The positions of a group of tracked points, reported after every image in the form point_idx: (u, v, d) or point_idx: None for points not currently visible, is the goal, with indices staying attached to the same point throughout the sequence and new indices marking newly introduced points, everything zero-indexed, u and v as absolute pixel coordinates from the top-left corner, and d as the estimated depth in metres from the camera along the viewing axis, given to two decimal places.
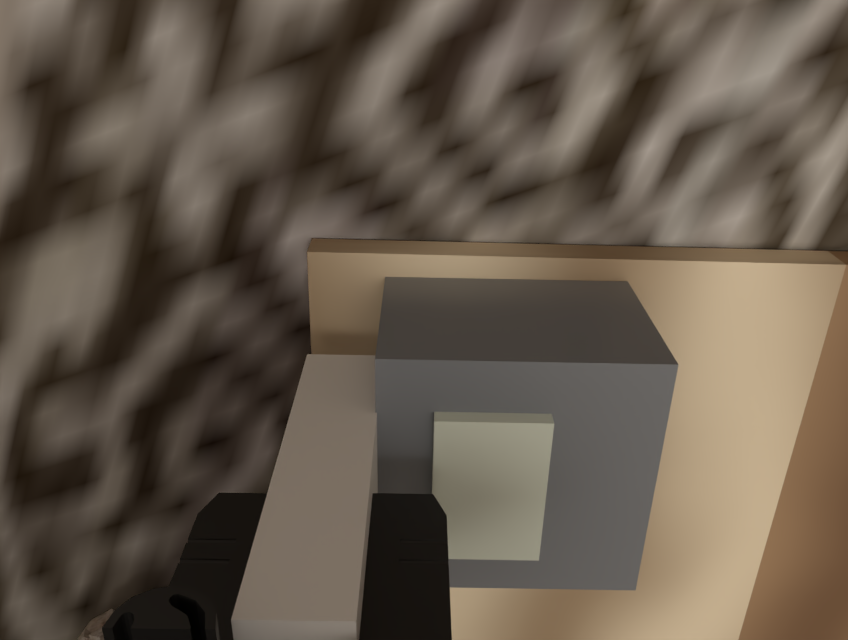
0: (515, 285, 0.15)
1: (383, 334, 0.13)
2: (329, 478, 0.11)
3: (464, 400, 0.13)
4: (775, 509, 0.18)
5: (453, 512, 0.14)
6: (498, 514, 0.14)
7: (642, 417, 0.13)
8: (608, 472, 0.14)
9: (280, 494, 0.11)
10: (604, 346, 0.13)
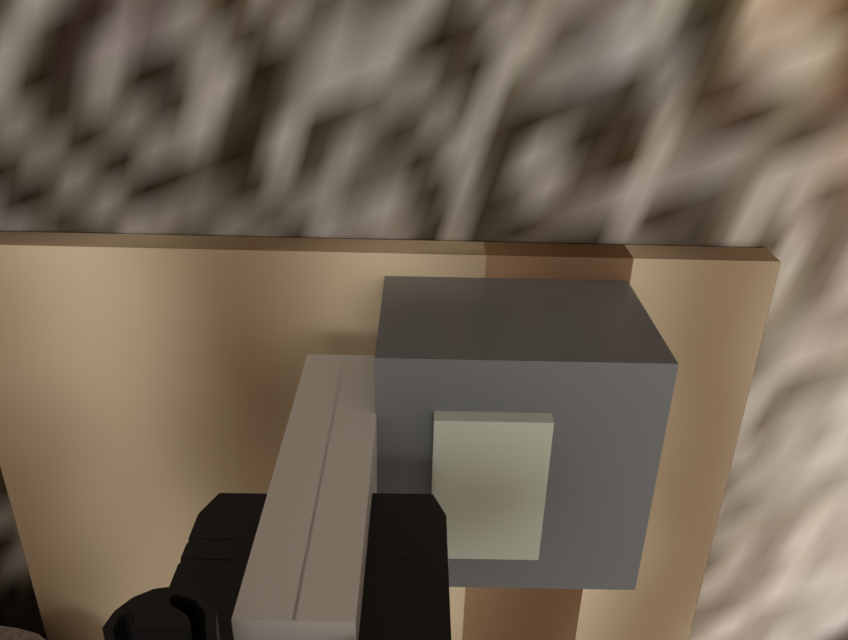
0: (515, 284, 0.15)
1: (383, 333, 0.13)
2: (328, 478, 0.11)
3: (464, 399, 0.13)
4: None
5: (452, 511, 0.13)
6: (498, 513, 0.14)
7: (642, 416, 0.13)
8: (608, 471, 0.13)
9: (280, 494, 0.11)
10: (604, 346, 0.13)
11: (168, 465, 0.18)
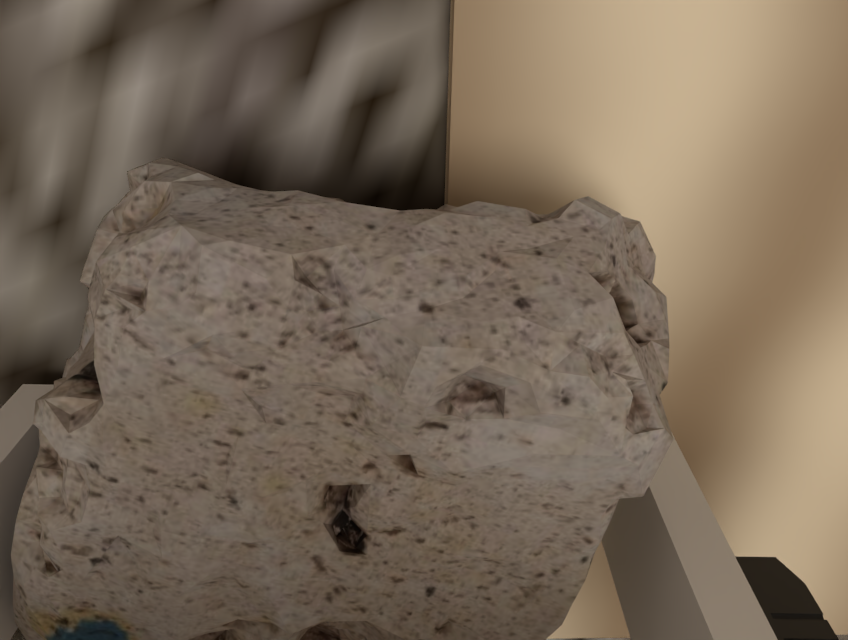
0: None
1: None
2: (683, 544, 0.10)
3: None
4: None
5: None
6: None
7: None
8: None
9: None
10: None
11: None
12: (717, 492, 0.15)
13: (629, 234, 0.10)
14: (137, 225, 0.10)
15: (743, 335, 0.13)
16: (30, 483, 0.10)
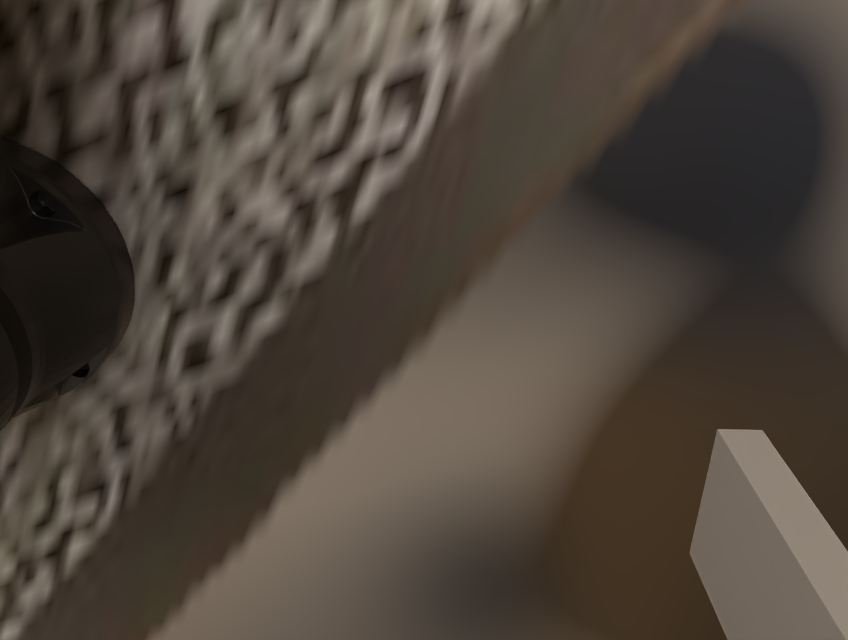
0: None
1: None
2: (838, 608, 0.09)
3: None
4: None
5: None
6: None
7: None
8: None
9: None
10: None
11: None
12: None
13: None
14: None
15: None
16: None
